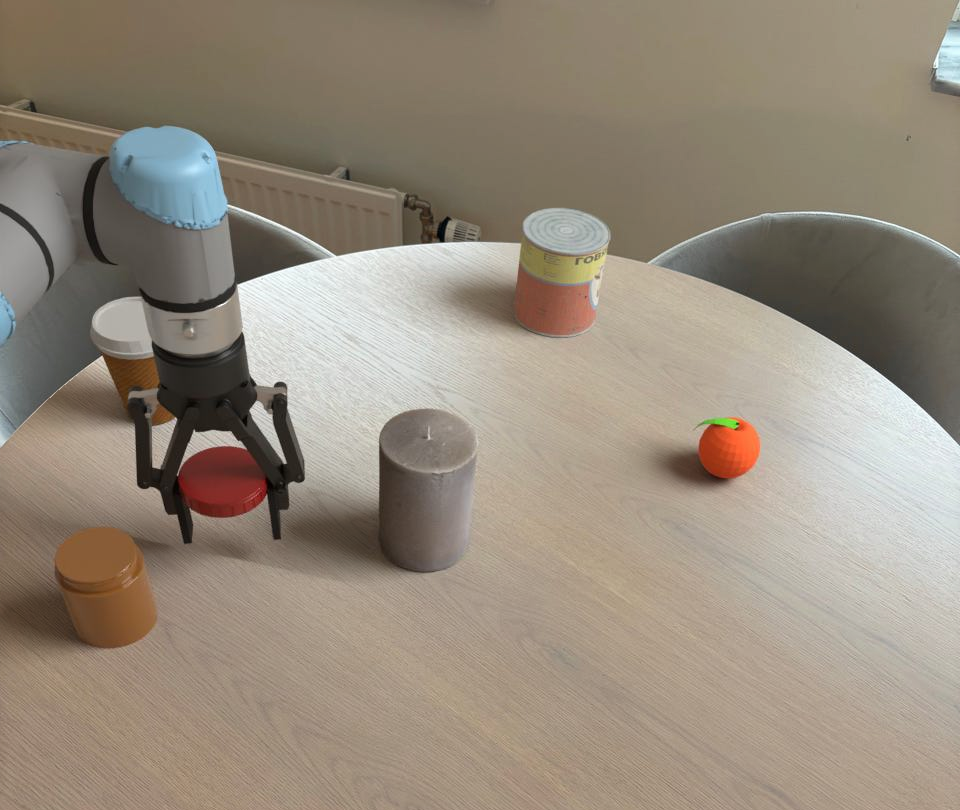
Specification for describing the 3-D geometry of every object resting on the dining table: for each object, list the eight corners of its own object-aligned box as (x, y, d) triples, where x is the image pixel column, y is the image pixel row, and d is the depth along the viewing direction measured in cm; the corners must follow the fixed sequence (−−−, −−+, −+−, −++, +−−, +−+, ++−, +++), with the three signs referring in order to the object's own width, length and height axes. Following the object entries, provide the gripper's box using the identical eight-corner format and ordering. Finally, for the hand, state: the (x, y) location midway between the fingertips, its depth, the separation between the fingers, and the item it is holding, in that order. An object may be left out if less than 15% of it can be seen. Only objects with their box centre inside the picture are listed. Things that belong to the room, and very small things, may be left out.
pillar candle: (364, 523, 106) (361, 410, 94) (446, 499, 109) (452, 387, 97) (402, 584, 101) (403, 473, 89) (486, 557, 104) (498, 446, 92)
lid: (247, 527, 91) (245, 512, 89) (165, 506, 92) (161, 492, 90) (282, 471, 96) (280, 456, 95) (204, 452, 97) (201, 437, 96)
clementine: (677, 479, 114) (692, 430, 108) (689, 443, 118) (703, 394, 113) (745, 497, 113) (763, 449, 107) (754, 460, 117) (772, 412, 111)
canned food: (588, 344, 130) (603, 260, 120) (505, 328, 131) (513, 243, 122) (601, 299, 137) (616, 216, 128) (522, 284, 138) (531, 201, 129)
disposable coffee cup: (179, 440, 112) (159, 350, 103) (98, 427, 113) (72, 336, 103) (207, 390, 118) (191, 301, 109) (130, 378, 119) (108, 288, 109)
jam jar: (64, 651, 92) (33, 575, 84) (101, 593, 97) (75, 515, 89) (140, 668, 92) (116, 593, 84) (174, 609, 96) (154, 532, 88)
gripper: (58, 364, 77) (121, 564, 95) (326, 358, 80) (339, 554, 97) (71, 310, 82) (129, 510, 99) (323, 306, 85) (336, 502, 102)
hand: (233, 532), depth 98 cm, fingers closed on lid, 8 cm apart
